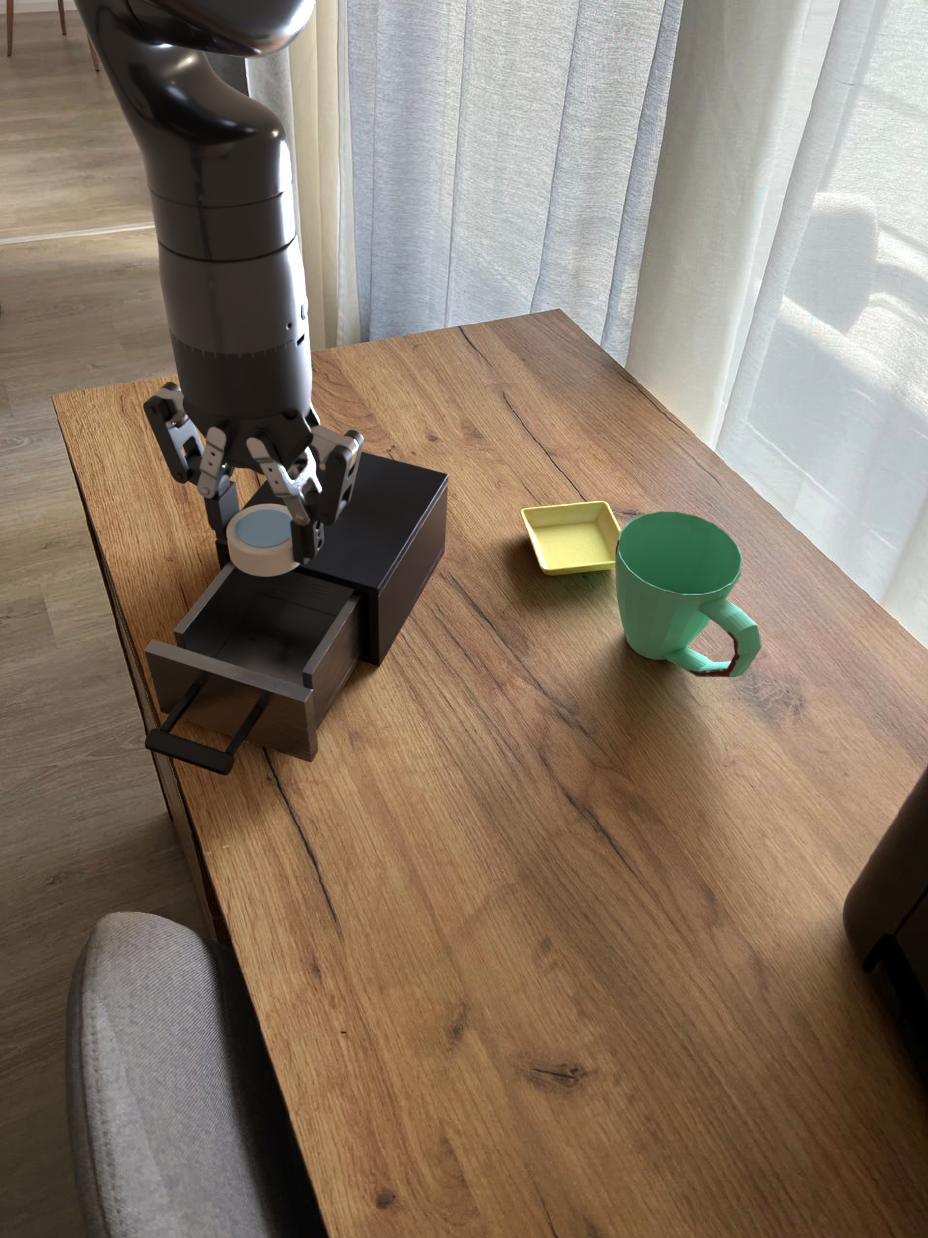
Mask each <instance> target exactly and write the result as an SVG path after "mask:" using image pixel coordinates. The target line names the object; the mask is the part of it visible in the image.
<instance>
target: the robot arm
mask: <svg viewBox="0 0 928 1238" xmlns="http://www.w3.org/2000/svg"><path fill="white" fill-rule="evenodd" d="M73 3H74V5H75V8H76V10H77V11H76V12H77V13H78V15H79V18H80V21H81V23H82V25H83V28H84V30H85V33H86V35H87V36H88V39H89V41H90V43H91V46H92V48H93V50H94V52H95V54H96V57H97V59H98V61H99V63H100V66H101V68H102V70H103V72H104V74H105V76H106V80H107V81H108V83H109V85H110V88H111V90H112V92H113V95H114V97H115V99H116V102H117V104H118V106H119V109H120V111H121V113H122V115H123V117H124V119H125V122H126V124H127V126H128V128H129V130H130V131H131V135H132V136H133V138H134V140H135V143H136V144H137V147H138V149H139V151H140V154H141V157H142V160H143V166H144V167H143V168H144V173H145V179H146V184H147V185H146V187H147V191H148V196H149V202H150V208H151V213H152V216H153V217H152V218H153V223H154V229H155V234H156V240H157V250H158V272H159V280H160V288H161V292H162V293H161V294H162V298H163V303H164V309H165V314H166V320H167V325H168V330H169V336H170V341H171V346H172V353H173V358H174V362H175V367H176V373H177V379H178V383H179V385H178V384H177V383H175V382H174V381H167V382H165V383H164V384H163V385H162V386H161V387H160V388H159V389H157V391H156V392H154V393H153V394H152V395H151V396H150V397H149V398H148V399H146V401H145V402H143V404H142V409H143V412H144V413H145V416H146V418H147V421H148V424H149V425H150V428H151V431H152V432H153V433H152V434H153V436H154V438H155V440H156V442H157V444H158V447H159V449H160V452H161V454H162V456H163V458H164V461H165V464H166V466H167V468H168V471H169V472H170V475H171V477H172V479H173V480H174V481H175V482H177V483H179V484H182V485H185V484H187V483H188V482H189V483H190V484H192V485H194V486H195V487H196V490H197V492H198V494H199V495H200V496H201V497H202V498H203V501H204V507H205V512H206V516H207V517H206V518H207V523H208V525H209V527H210V529H211V531H214V534H215V538H216V539H219V540H223V541H226V542H227V536H226V529H227V525H228V523H229V521H230V520H231V519H232V518H233V516H235V515H236V514H237V513H238V512H240V511H241V509H240V508H241V507H240V503H239V496H238V489H237V483H236V481H233V480H230V479H231V477H232V476H233V475H234V471H235V468H236V469H249V470H251V471H253V472H255V473H257V474H259V475H261V476H264V477H265V480H267V481H268V483H269V485H270V487H271V489H272V491H273V493H274V495H275V496H276V497H282V498H283V500H284V502H285V504H286V506H287V508H288V510H289V512H290V514H291V516H292V518H293V519H292V520H291V522H290V528H291V537H292V547H293V556H294V562H296V563H300V564H303V565H306V564H307V563H308V561H309V560H310V559H313V558H314V557H315V556H316V554H317V553H318V551H319V550H320V549H321V547H322V546H323V543H324V531H323V530H324V529H323V524H324V525H328V526H330V525H333V524H334V522H335V521H336V520H337V518H338V515H339V514H340V513H341V511H342V510H343V509H344V507H345V506H347V504H348V503H349V501H350V500H351V496H352V491H353V487H354V483H355V478H356V474H357V469H358V465H359V461H360V456H361V452H363V447H364V442H365V439H364V436H363V435H362V433H360V432H359V431H357V430H355V429H348V430H347V431H345V433H344V435H343V434H340V433H338V432H336V431H334V430H332V429H330V428H327V427H325V426H323V425H321V421H320V418H319V416H318V414H317V412H316V410H315V409H314V406H313V403H312V390H313V389H312V388H313V370H312V369H313V368H312V359H311V358H312V356H311V355H312V354H311V344H310V329H309V316H308V315H309V300H308V297H307V289H306V277H305V276H306V275H305V267H304V263H303V262H304V261H303V258H302V254H301V250H300V249H301V248H300V245H299V239H298V230H297V220H296V207H295V196H294V195H295V194H294V182H293V169H292V158H291V147H290V141H289V136H288V132H287V129H286V127H285V124H284V123H283V121H282V120H281V118H280V117H279V115H278V114H277V113H275V112H274V111H273V109H271V108H270V107H268V106H267V105H266V104H263V103H262V102H260V101H258V100H256V99H254V98H252V97H249V96H248V95H246V94H245V93H242V92H241V91H239V90H238V89H236V88H234V87H232V86H230V85H229V84H228V83H226V82H225V81H224V80H223V79H222V78H220V77H219V75H218V74H217V73H216V72H215V70H214V69H213V67H212V66H211V63H210V61H209V59H208V56H207V55H206V53H205V52H207V53H213V54H216V55H221V56H226V57H233V58H239V59H251V60H252V59H263V58H267V57H268V58H269V57H271V56H273V55H276V54H278V53H280V52H282V51H283V50H285V49H286V48H288V47H289V46H290V45H291V44H293V42H295V40H297V39H298V37H299V36H300V35H301V34H302V33H303V32H304V30H305V29H306V27H307V25H308V24H309V22H310V19H311V17H312V15H313V13H314V9H315V7H316V3H317V0H73ZM199 433H200V434H201V436H203V438H204V439H205V446H203V443H202V440H201V437H200V435H199ZM309 445H312V446H313V447H315V448H316V450H317V451H318V453H319V460H320V462H321V463H320V464H319V467H320V469H321V470H325V475H324V480H323V485H322V488H321V486H320V483H319V481H318V479H317V477H316V474H315V471H316V463H315V461H314V458H313V456H312V454H311V452H310V450H309V448H308V446H309ZM182 448H183V449H182ZM183 451H184V453H185V455H184V453H183ZM290 466H291V467H290ZM289 467H290V469H289V470H288V471H287V472H286V470H287V469H288V468H289ZM301 490H302V492H303V494H304V497H303V495H302V493H301Z"/></svg>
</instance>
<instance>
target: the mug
mask: <svg viewBox="0 0 928 1238" xmlns="http://www.w3.org/2000/svg"><path fill="white" fill-rule="evenodd" d="M620 530H621V531H620V532H619V536H618V541H617V546H616V553H615V568H614V571H615V575H614V576H615V589H616V590H615V591H616V600H617V605H618V611H619V617H620V621H621V625H622V628H623V632H624V635H625V639H626V642H627V643H628V646H630V648H631V649H632V650H633V651H634V652H635V653H637V654H638V655H639V656H642V657H644V658H646V659H651V660H655V661H656V660H659V661H663V660H666V661H668V662H671V663H672V664H674V665H675V666H677V667H679V668H681V669H683V670H684V671H686V672H687V673H689V674H691V675H693V676H695V677H696V678H737V677H740V676H741V675H743V674H744V673H745V672H746V671H748V669H749V667H750V666H751V664H752V663H753V661H754V660H755V659H756V657H757V655H758V654H759V653H760V650H761V649H762V648H763V642H762V639H761V638H762V637H761V634H760V629H759V625H758V623H756V622H755V621H754V620H753V619H752V618H751V616H749V615H748V614H747V613H746V612H745V611H743V610H742V609H741V608H740V607H739V606H736V605H735V604H734V603H732V602H731V601H729V599H727V598H728V596H729V595H730V594H731V592H732V591H733V589H734V587H735V586H736V585H737V583H738V581H739V580H740V578H741V574H742V572H743V571H742V570H743V561H744V558H743V556H742V553H741V549H740V547H739V545H738V544H737V543H736V542H735V540H734V539H733V537H732V536H730V534H729V533H727V532H726V531H725V530H724V529H722V528H721V527H719V526H718V525H717V524H715V523H714V522H711V521H709V520H706V519H704V518H702V517H700V516H697V515H694V514H689V513H685V512H681V511H662V510H661V511H654V512H649V513H644V514H640V515H639V516H637V517H635V518H633V519H631V520H629V521H628V522H627V523H626V524H625V525H624V526H623V527H622V528H621V529H620ZM711 621H713V622H714V623H715V624H717V625H718V626H719V627H720V628H721V629H722V630H723V631H724V632H725V633H726V634H727V635H728V636H729V637H730V638H731V639H732V643H733V650H734V654H733V656H732V659H731V660H729V661H717V662H716V661H715V660H713V659H711V658H709V657H706V656H704V655H703V654H701V653H699V652H697V651H695V650H693V649H691V648H689V647H688V646H689V645H690V644H691V643H692V642H693V641H694V640H695V639H696V638H697V637H698V636H699V634H700V633H702V631H703V630H704V629H705V628H706V627H707V626H708V625H709V623H710V622H711Z"/></svg>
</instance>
